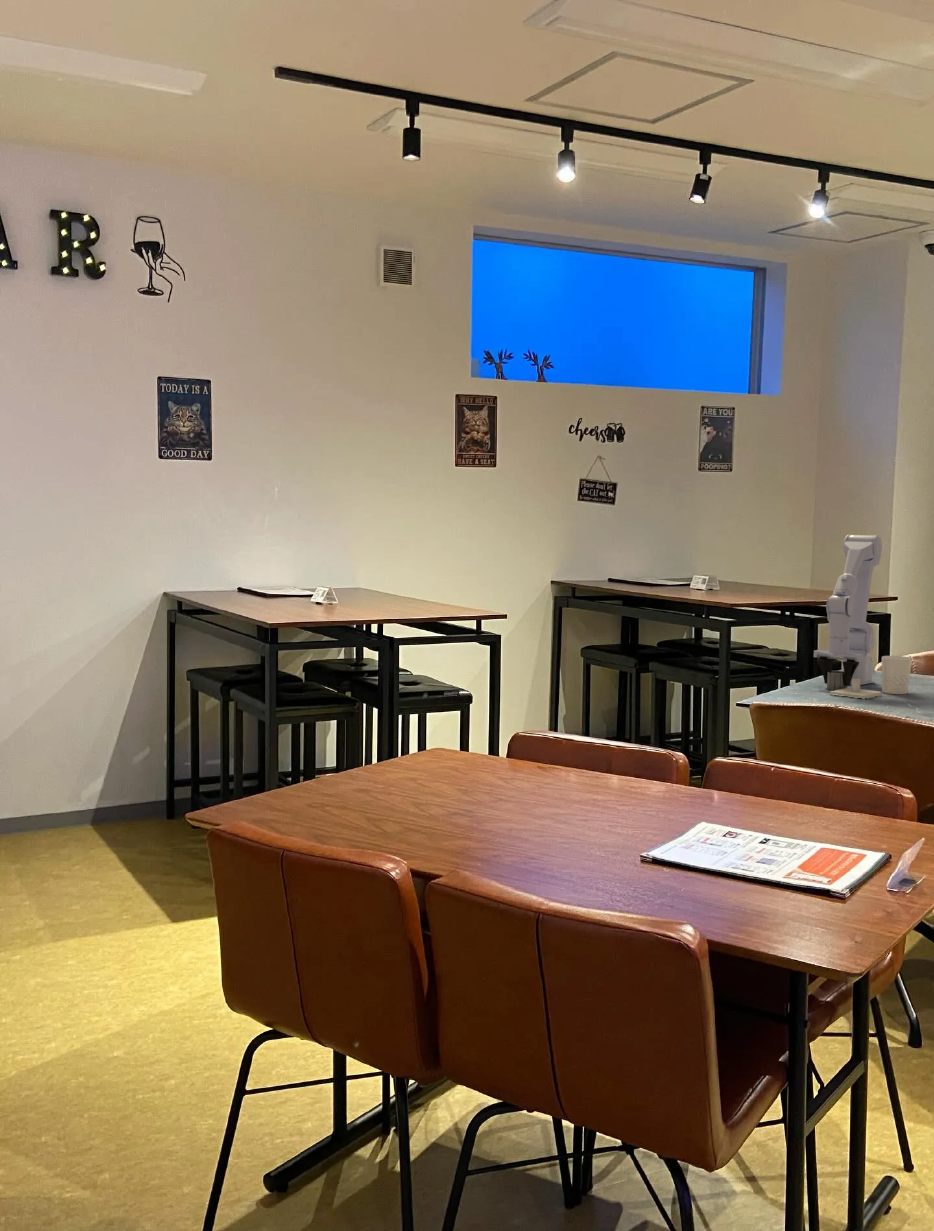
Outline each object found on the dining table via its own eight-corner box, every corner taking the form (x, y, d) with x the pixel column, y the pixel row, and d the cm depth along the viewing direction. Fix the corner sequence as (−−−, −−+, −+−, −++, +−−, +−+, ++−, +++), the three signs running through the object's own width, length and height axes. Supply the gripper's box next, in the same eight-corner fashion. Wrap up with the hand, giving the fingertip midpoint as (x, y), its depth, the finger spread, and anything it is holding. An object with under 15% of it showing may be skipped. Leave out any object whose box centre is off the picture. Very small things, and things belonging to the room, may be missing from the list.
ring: (833, 687, 347) (833, 670, 347) (851, 689, 343) (851, 672, 343) (823, 689, 343) (823, 671, 343) (841, 691, 339) (841, 674, 339)
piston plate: (848, 691, 340) (848, 675, 339) (881, 695, 332) (881, 679, 332) (829, 695, 333) (830, 678, 332) (863, 699, 325) (863, 683, 325)
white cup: (889, 689, 343) (891, 655, 342) (915, 693, 337) (916, 657, 336) (874, 692, 338) (876, 657, 337) (900, 695, 332) (901, 660, 331)
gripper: (808, 636, 344) (807, 683, 345) (855, 640, 334) (853, 688, 335) (821, 634, 349) (819, 680, 350) (867, 638, 339) (866, 686, 340)
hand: (837, 684), depth 343 cm, fingers closed on ring, 6 cm apart
